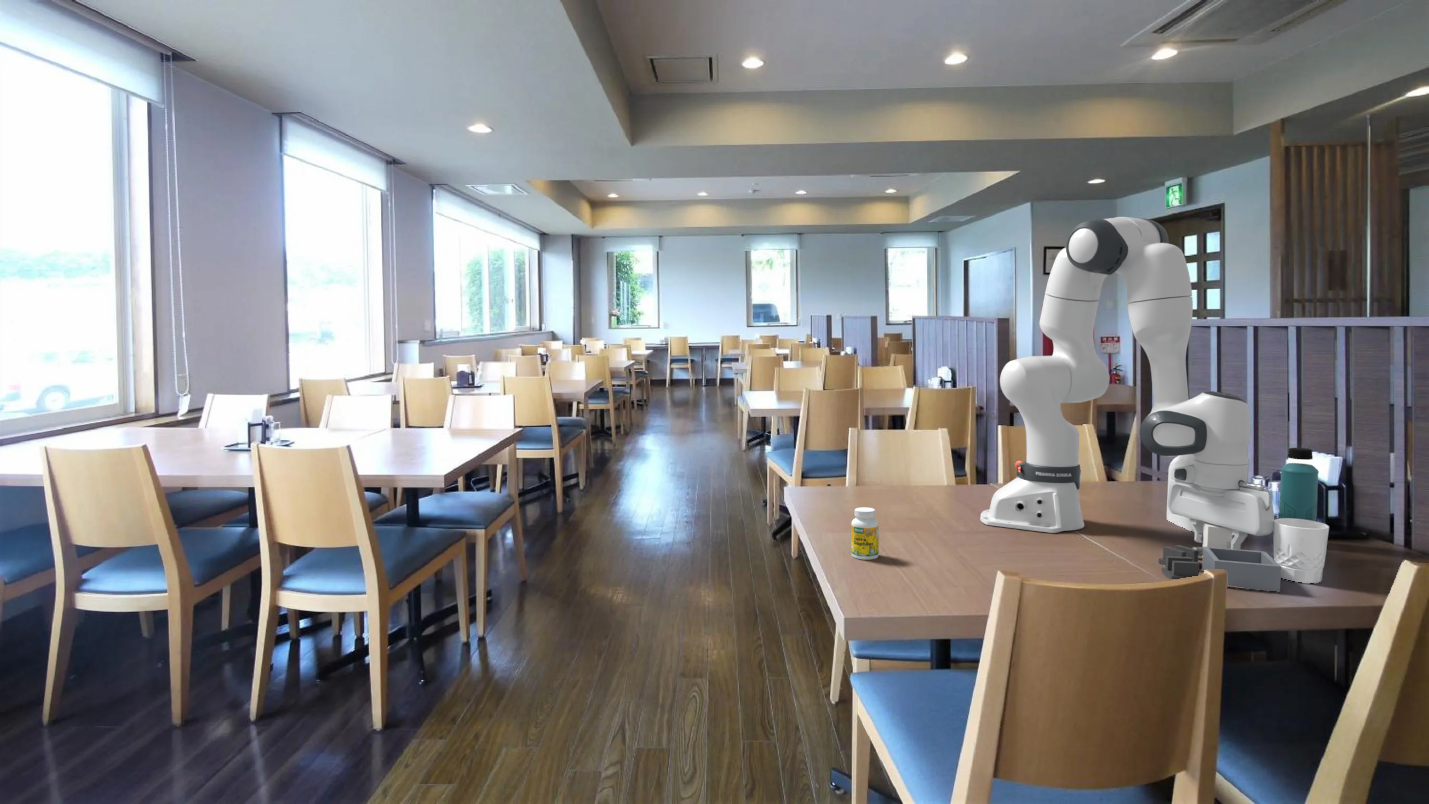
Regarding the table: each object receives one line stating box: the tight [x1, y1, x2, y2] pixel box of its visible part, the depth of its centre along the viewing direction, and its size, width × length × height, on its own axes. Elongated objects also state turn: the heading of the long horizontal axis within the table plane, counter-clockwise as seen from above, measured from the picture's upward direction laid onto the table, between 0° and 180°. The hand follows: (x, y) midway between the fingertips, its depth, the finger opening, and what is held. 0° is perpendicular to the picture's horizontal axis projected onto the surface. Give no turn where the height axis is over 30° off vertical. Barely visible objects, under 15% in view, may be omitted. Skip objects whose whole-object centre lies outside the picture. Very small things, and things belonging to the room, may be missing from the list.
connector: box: [1191, 522, 1234, 558], centre depth 148 cm, size 6×4×7 cm, turn 68°
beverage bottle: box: [1277, 447, 1319, 522], centre depth 159 cm, size 6×7×20 cm
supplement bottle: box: [850, 506, 880, 561], centre depth 153 cm, size 5×5×10 cm
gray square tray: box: [1201, 546, 1281, 593], centre depth 136 cm, size 10×10×4 cm
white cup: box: [1272, 518, 1330, 584], centre depth 137 cm, size 8×8×10 cm
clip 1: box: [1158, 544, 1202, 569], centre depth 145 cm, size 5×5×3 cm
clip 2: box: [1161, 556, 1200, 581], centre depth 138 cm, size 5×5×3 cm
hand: (1216, 546), depth 148 cm, fingers closed on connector, 6 cm apart
